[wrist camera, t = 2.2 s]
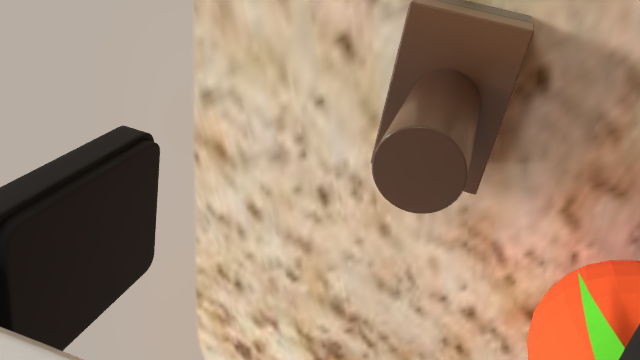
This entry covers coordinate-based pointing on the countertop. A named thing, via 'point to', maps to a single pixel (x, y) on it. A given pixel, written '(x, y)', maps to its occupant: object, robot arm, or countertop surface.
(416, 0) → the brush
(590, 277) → the clementine
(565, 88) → the countertop surface
